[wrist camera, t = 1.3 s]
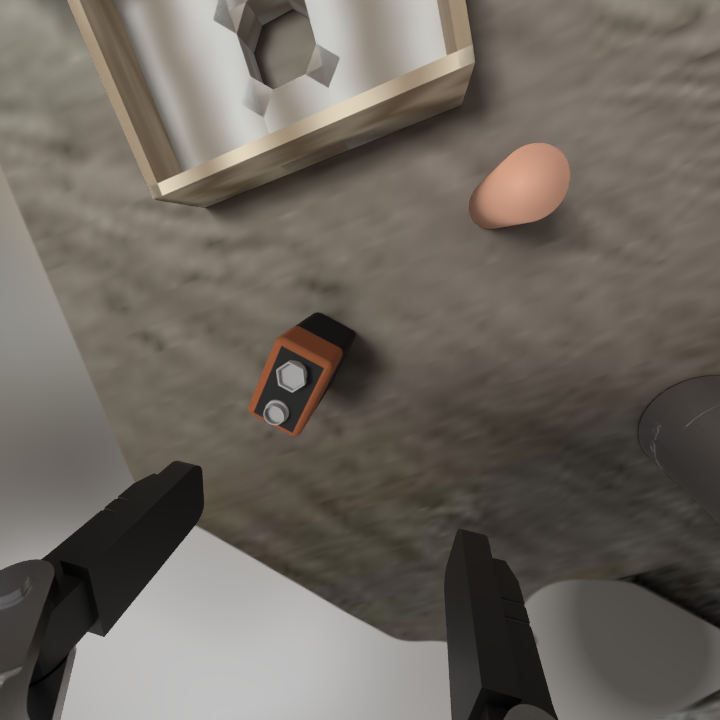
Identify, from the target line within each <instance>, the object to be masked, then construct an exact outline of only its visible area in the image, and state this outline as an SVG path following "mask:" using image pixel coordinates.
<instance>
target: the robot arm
mask: <svg viewBox="0 0 720 720" xmlns="http://www.w3.org/2000/svg"><path fill="white" fill-rule="evenodd" d="M638 437H639V441H640V445H641V447H642V449H643V451H644V452H645V454H646V455H647V456H648V457H649V458H650V459H651V460H652V461H653V462H654V463H655V464H657V466H658V467H659V468H660V469H661V470H663V471H664V472H665V473H666V474H667V475H668V476H669V477H670V478H672V479H673V480H674V481H675V482H676V483H677V484H678V485H679V486H680V487H681V488H682V489H683V490H684V491H685V492H686V493H687V494H688V495H689V496H690V497H692V498H693V499H694V500H695V501H696V502H697V503H698V504H699V505H700V506H701V507H702V508H703V509H704V510H705V511H707V512H708V513H709V514H710V515H711V516H712V517H713V518H714V519H715V520H716V521H717V522H718V523H719V524H720V376H704V377H698V378H693V379H690V380H687V381H684V382H681V383H679V384H677V385H675V386H673V387H671V388H669V389H667V390H666V391H665V392H663V393H662V394H661V395H659V396H658V397H657V398H656V399H655V400H654V401H653V402H652V403H651V404H650V405H649V406H648V408H647V409H646V411H645V412H644V414H643V415H642V418H641V421H640V424H639V431H638ZM203 507H204V494H203V477H202V469H201V467H200V466H197V465H193V464H189V463H185V462H181V461H174V462H172V463H171V464H170V465H168V466H167V467H166V468H165V469H164V470H163V471H162V472H160V473H159V474H158V475H157V474H152V475H150V476H148V477H146V478H144V479H142V480H140V481H138V482H136V483H134V484H133V485H131V486H130V487H129V488H128V489H127V490H125V491H124V492H123V493H122V494H121V495H119V496H118V499H115V500H113V501H112V502H111V503H110V504H109V505H107V506H106V507H105V509H104V510H103V511H100V512H99V513H98V514H96V515H95V516H94V517H93V518H92V519H90V520H89V521H88V522H87V523H85V524H84V525H83V526H82V527H81V528H79V529H78V530H77V531H76V532H75V533H73V534H72V535H71V536H70V537H69V538H67V539H66V540H65V541H64V542H62V543H61V544H60V545H59V546H58V547H57V548H55V549H54V550H53V551H51V552H50V553H49V554H48V555H46V556H45V557H44V558H43V559H41V560H28V561H23V562H20V563H17V564H14V565H11V566H9V567H6V568H4V569H2V570H0V720H60V719H61V714H62V710H63V706H64V701H65V697H66V693H67V689H68V684H69V680H70V676H71V672H72V667H73V663H74V659H75V655H76V644H77V643H78V642H79V641H80V639H81V638H82V637H83V636H84V635H85V634H86V632H87V631H88V632H91V633H94V634H97V635H100V636H103V637H104V636H105V635H106V634H107V633H108V632H109V630H110V629H111V628H112V627H113V625H114V624H115V623H116V622H117V620H118V619H119V618H120V617H121V616H122V614H123V613H124V612H125V611H126V610H127V608H128V607H129V606H130V605H131V603H132V602H133V601H134V600H135V598H136V597H137V596H138V595H139V593H140V592H141V591H142V590H143V589H144V587H145V586H146V585H147V584H148V582H149V581H150V580H151V579H152V578H153V576H154V575H155V574H156V573H157V571H158V570H159V569H160V568H161V567H162V565H163V564H164V563H165V561H166V560H167V559H168V558H169V557H170V556H171V554H172V553H173V552H174V550H175V549H176V548H177V547H178V546H179V544H180V543H181V542H182V541H183V540H184V538H185V537H186V536H187V535H188V533H189V532H190V531H191V530H192V528H193V527H194V526H195V525H196V523H197V522H198V520H199V518H200V516H201V514H202V511H203ZM444 593H445V610H446V627H447V645H448V661H449V680H450V697H451V714H452V720H558V718H557V715H556V713H555V710H554V707H553V705H552V701H551V697H550V694H549V690H548V686H547V683H546V679H545V676H544V672H543V669H542V665H541V661H540V658H539V654H538V650H537V647H536V643H535V640H534V636H533V632H532V629H531V627H530V625H529V623H530V622H529V618H528V615H527V611H526V608H525V607H524V600H523V596H522V593H521V589H520V586H519V582H518V580H517V579H516V577H515V575H514V574H513V572H512V571H511V569H510V568H509V566H508V565H507V563H506V561H503V560H499V559H495V558H492V555H491V550H490V545H489V541H488V538H487V536H486V535H484V534H479V533H475V532H471V531H467V530H463V529H458V531H457V533H456V536H455V540H454V543H453V546H452V550H451V553H450V556H449V560H448V563H447V567H446V572H445V583H444Z"/></svg>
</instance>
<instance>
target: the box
mask: <svg viewBox="0 0 720 720" xmlns="http://www.w3.org/2000/svg"><path fill="white" fill-rule="evenodd" d="M67 1H68V4H69V6H70V8H71V10H72V13H73V15H74V17H75V20H76V22H77V24H78V27H79V29H80V31H81V34H82V36H83V38H84V40H85V43H86V45H87V47H88V50H89V52H90V54H91V57H92V59H93V61H94V64H95V66H96V68H97V70H98V73H99V75H100V77H101V80H102V82H103V84H104V87H105V89H106V91H107V94H108V96H109V98H110V100H111V103H112V105H113V107H114V110H115V112H116V114H117V117H118V119H119V121H120V124H121V126H122V128H123V130H124V133H125V135H126V137H127V140H128V142H129V144H130V147H131V149H132V151H133V154H134V156H135V158H136V160H137V163H138V165H139V167H140V170H141V172H142V174H143V177H144V179H145V181H146V183H147V186H148V188H149V190H150V193H151V195H152V197H153V200H159V201H165V202H172V203H178V204H184V205H190V206H196V207H202V208H206V207H208V206H211V205H213V204H216V203H218V202H221V201H223V200H226V199H228V198H231V197H233V196H236V195H238V194H241V193H243V192H246V191H248V190H251V189H253V188H256V187H258V186H261V185H263V184H266V183H268V182H271V181H273V180H276V179H278V178H281V177H283V176H286V175H288V174H291V173H293V172H296V171H298V170H301V169H303V168H306V167H308V166H311V165H313V164H316V163H318V162H321V161H323V160H326V159H328V158H331V157H333V156H336V155H338V154H341V153H343V152H346V151H348V150H351V149H353V148H356V147H358V146H361V145H363V144H366V143H368V142H371V141H373V140H376V139H378V138H381V137H383V136H386V135H388V134H391V133H393V132H396V131H398V130H401V129H403V128H406V127H408V126H411V125H413V124H416V123H418V122H421V121H423V120H425V119H428V118H430V117H433V116H435V115H438V114H440V113H443V112H445V111H448V110H450V109H453V108H455V107H458V106H460V105H462V103H463V100H464V97H465V94H466V90H467V87H468V84H469V81H470V77H471V74H472V71H473V68H474V65H475V57H474V50H473V44H472V38H471V32H470V26H469V19H468V13H467V7H466V1H465V0H67ZM292 9H294V10H296V11H297V12H299V13H301V14H303V15H304V16H306V17H308V18H309V19H310V22H311V26H312V29H313V33H314V37H315V40H316V46H315V48H314V51H313V54H312V57H311V60H310V62H309V65H308V68H307V71H306V73H305V75H303V76H301V77H298V78H296V79H294V80H292V81H290V82H288V83H286V84H284V85H282V86H280V87H278V88H275V89H271V88H270V87H268V86H266V85H264V84H263V81H262V78H261V74H260V71H259V68H258V65H257V62H256V59H255V56H254V52H255V49H256V45H257V42H258V39H259V36H260V32H261V29H262V26H263V25H264V24H266V23H268V22H270V21H272V20H273V19H275V18H277V17H279V16H281V15H283V14H285V13H286V12H288V11H290V10H292Z"/></svg>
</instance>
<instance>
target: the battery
mask: <svg viewBox="0 0 720 720" xmlns="http://www.w3.org/2000/svg"><path fill="white" fill-rule="evenodd" d="M354 337H355V333H354V331H352V330H350V329H348V328H347V327H345V326H343V325H341V324H339V323H337V322H335V321H333V320H332V319H330V318H328V317H326V316H324V315H322V314H320V313H314V314H312V315H311V316H309V317H308V318H307V319H305V320H304V321H302V322H301V323H299V324H298V325H296V326H295V327H293V328H292V329H290V330H289V331H287V332H286V333H284V334H283V335H281V336H280V337H278V338H277V339H276V341H275V343H274V345H273V348H272V350H271V353H270V355H269V358H268V360H267V362H266V365H265V367H264V370H263V372H262V375H261V377H260V380H259V382H258V385H257V387H256V389H255V392H254V394H253V397H252V399H251V402H250V404H249V408H248V410H249V413H250V414H252V415H254V416H256V417H257V418H259V419H261V420H263V421H265V422H267V423H269V424H271V425H273V426H275V427H276V428H278V429H280V430H282V431H284V432H286V433H288V434H290V435H292V436H298V435H299V434H300V433H301V432H302V430H303V429H304V427H305V425H306V424H307V422H308V421H309V419H310V417H311V416H312V414H313V412H314V411H315V409H316V408H317V406H318V404H319V403H320V401H321V400H322V398H323V396H324V395H325V393H326V392H327V390H328V388H329V387H330V385H331V383H332V381H333V379H334V377H335V375H336V373H337V371H338V369H339V367H340V365H341V363H342V361H343V359H344V357H345V355H346V353H347V351H348V349H349V348H350V346H351V344H352V342H353V340H354Z"/></svg>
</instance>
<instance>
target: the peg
mask: <svg viewBox="0 0 720 720" xmlns="http://www.w3.org/2000/svg"><path fill="white" fill-rule="evenodd" d="M569 183H570V168H569V164H568V161H567V159H566V157H565V156H564V155H563V153H562V152H561V151H560V150H559V149H557V148H556V147H554V146H552V145H549V144H545V143H533V144H528V145H525V146H523V147H521V148H519V149H517V150H516V151H514V152H513V153H511V154H510V155H509V156H508V157H507V158H506V159H505V160H504V161H503V162H502V163H501V164H500V165H499V166H498V167H497V168H496V169H495V170H494V171H493V172H492V173H491V174H490V175H489V176H488V177H487V178H485V179H484V180H483V181H482V182H481V183H480V184H479V185H478V186H477V187H476V189H475V190H474V192H473V193H472V195H471V198H470V202H469V212H470V215H471V218H472V219H473V221H474V222H475V223H476V224H477V225H478V226H480V227H482V228H485V229H496V228H502V227H507V226H512V225H518V224H523V223H529V222H533V221H537V220H540V219H542V218H544V217H546V216H547V215H549V214H550V213H552V212H553V211H554V210H555V209H556V208H557V207H558V206H559V205H560V203H561V202H562V200H563V199H564V197H565V195H566V193H567V190H568V188H569Z"/></svg>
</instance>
